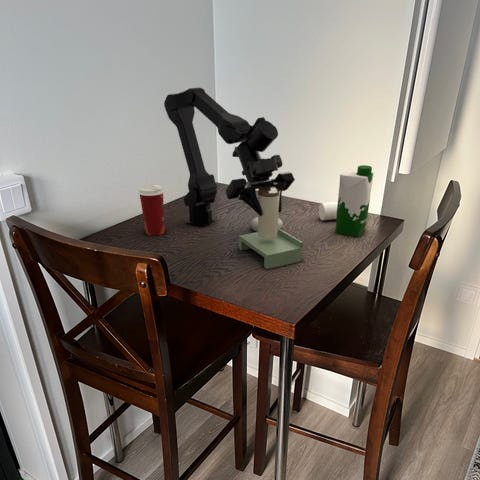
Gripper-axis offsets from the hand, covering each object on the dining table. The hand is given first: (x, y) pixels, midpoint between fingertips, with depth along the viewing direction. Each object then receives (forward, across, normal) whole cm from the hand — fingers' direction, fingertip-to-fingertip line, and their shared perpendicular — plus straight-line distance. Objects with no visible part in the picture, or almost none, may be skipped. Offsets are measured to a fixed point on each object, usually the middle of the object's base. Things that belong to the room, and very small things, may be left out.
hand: (270, 213), depth 130 cm
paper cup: (-14, -22, +32) cm, 41 cm away
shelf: (+8, 0, +9) cm, 12 cm away
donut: (-4, +10, +21) cm, 24 cm away
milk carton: (+6, +32, +11) cm, 34 cm away
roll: (-2, +36, +20) cm, 41 cm away
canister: (+4, 0, +6) cm, 7 cm away
